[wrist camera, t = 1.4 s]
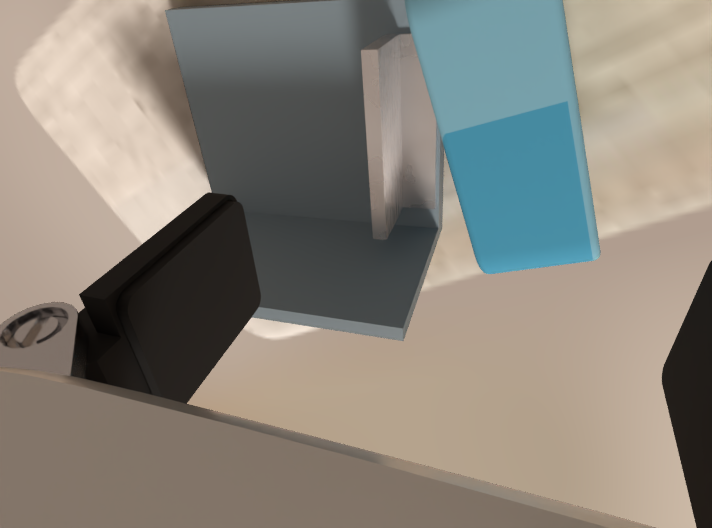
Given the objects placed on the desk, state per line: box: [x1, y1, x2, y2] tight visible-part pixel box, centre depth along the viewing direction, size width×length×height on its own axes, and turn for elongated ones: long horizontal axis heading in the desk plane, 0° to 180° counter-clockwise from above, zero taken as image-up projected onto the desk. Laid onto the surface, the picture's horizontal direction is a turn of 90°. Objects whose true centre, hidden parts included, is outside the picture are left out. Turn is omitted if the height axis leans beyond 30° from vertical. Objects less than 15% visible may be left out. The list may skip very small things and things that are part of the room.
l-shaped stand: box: [165, 0, 444, 341], centre depth 27 cm, size 16×14×12 cm
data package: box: [405, 0, 600, 274], centre depth 21 cm, size 12×4×12 cm, turn 22°
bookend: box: [361, 33, 437, 240], centre depth 26 cm, size 3×10×4 cm, turn 5°
